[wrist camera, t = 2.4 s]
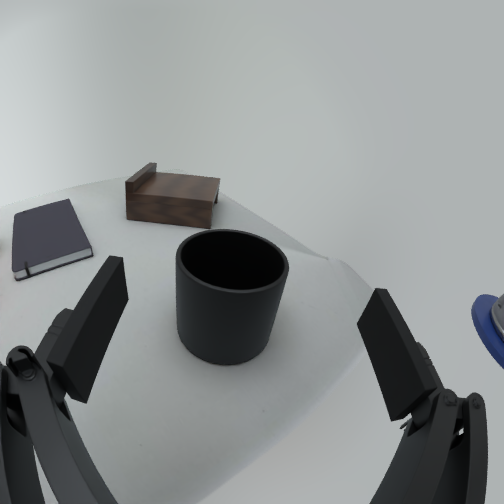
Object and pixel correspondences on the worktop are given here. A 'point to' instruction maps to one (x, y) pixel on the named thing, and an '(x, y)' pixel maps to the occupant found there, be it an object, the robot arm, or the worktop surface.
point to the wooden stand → (171, 198)
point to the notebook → (47, 239)
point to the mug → (228, 293)
